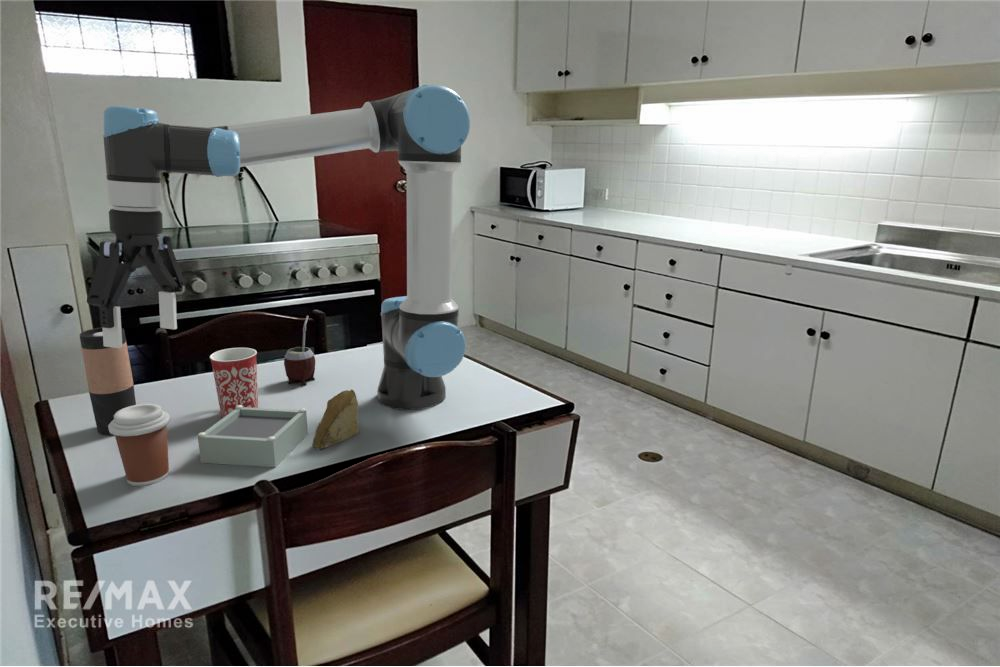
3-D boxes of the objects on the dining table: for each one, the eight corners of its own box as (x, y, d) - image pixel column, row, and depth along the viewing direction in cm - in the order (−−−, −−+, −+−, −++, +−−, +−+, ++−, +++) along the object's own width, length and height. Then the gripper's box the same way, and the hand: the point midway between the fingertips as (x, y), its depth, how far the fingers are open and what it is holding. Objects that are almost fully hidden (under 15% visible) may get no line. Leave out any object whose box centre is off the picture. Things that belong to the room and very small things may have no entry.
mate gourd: (290, 389, 153) (284, 326, 149) (282, 379, 160) (276, 319, 156) (322, 383, 157) (317, 322, 153) (313, 374, 163) (308, 315, 159)
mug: (264, 419, 136) (258, 357, 132) (217, 426, 133) (209, 362, 129) (260, 398, 147) (254, 341, 144) (216, 404, 144) (209, 345, 140)
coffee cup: (186, 463, 117) (177, 400, 114) (163, 489, 108) (152, 421, 105) (134, 464, 117) (124, 401, 113) (106, 490, 108) (94, 422, 105)
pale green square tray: (308, 434, 129) (306, 408, 127) (275, 467, 115) (273, 439, 114) (240, 430, 131) (237, 404, 129) (200, 462, 117) (196, 434, 116)
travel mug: (95, 438, 127) (76, 339, 122) (97, 424, 133) (80, 329, 128) (139, 431, 130) (124, 333, 125) (140, 417, 137) (125, 324, 131)
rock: (316, 446, 119) (369, 428, 123) (301, 402, 121) (353, 386, 125) (312, 459, 128) (361, 442, 132) (298, 418, 130) (347, 402, 134)
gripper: (164, 204, 118) (169, 319, 123) (51, 209, 94) (63, 353, 99) (203, 207, 117) (206, 323, 122) (98, 214, 93) (108, 358, 98)
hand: (142, 337), depth 110 cm, fingers open, 13 cm apart
